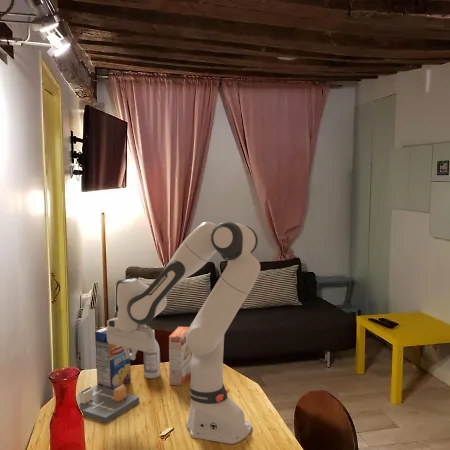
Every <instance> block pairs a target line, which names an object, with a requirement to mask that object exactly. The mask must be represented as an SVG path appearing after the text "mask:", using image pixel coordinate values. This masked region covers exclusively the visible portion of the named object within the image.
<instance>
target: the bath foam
mask: <svg viewBox="0 0 450 450" xmlns="http://www.w3.org/2000/svg"><path fill="white" fill-rule="evenodd" d="M152 330H153V336H154V343H155V348H154V349H153V350H152V351H150V352H144V351H142V352H143V375H144V378H146V379H156V378H158V377H160V376H161V351H160V345H159V343H158V341H157V340H156V337H155V334H156V332H155V329H152Z"/></svg>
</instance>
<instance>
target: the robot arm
mask: <svg viewBox="0 0 450 450" xmlns="http://www.w3.org/2000/svg"><path fill="white" fill-rule="evenodd" d="M258 243H259V239H258V235H257V233H256V232H255V230H254V229H252V228H251V227H250V226H247V225H244V224H242V223H238V222H232V221H225V222H221V223H219V224H218V225H217V224H216V223H214V222H211V221H204V222H202V223H201V224H200V225H198V226H197V227H196V228H194V230H192V231H191V232H190V233H189V234H188V235H187V236H186V238H185V239H184V240H183V241H182V242H181V244H179V247H177V249H176V251H175V252H174V253H173V255H172V256H171V259H170V260H169V262H168V263H167V264H166V266H165V267H164V269H163V270H162V271H161V273H160V274H159V275H158V276H157V277H156V278H155V279H154V280H153V282H151V284H150V285H148V284H146V283H144V282H142V281H141V280H140V279H139V278H136V277H132V278H127V279H124V280H122V281H120V282H119V283H118V285H117V289H116V290H117V291H116V306H117V308H118V309H117V310H118V311H117V316H116V317H113V318H110V319H108V320H106V325H107V326H106V327H108V328H107V341H108V343H109V344H112V345H117V346H121V347H124V351H125V353H126V358H127V359H130V361H131V360H132V361H134V360H136V355H137V352H138V351H140V352H143V351H144V352H150V351H152V350H153V349H154V348H155V343H154V336H153V330H154V329H152V327H150V325H147V324H150V322H151V321H152V320H153V319H154V318H156V316H158V315H159V314H160V313H162V312H163V311H164V310H165V309H166V307H167V305H168V298H167V295H168V294H169V293H170V292H171V290H172V289H173V288H174V287H176V286H177V285H178V284H179V283H181V282H182V281H184V280H185V279H187V278H189V277H191V276H192V275H194V274H195V273H196V272H198V271H199V270H200V269H202V268H203V267H204V266H205V265H206V264H207V263H208V262H209V261H210V260H211V258H212V257H213V256H214V255H215V254H216V253H218V254H220V256H221V258H222V259H223V260H224V261H227V265H226V266H225V268H224V270H223V272H222V273H221V275H220V277H219V278H218V280H217V281H216V283H215V284H214V287H213V288H212V289H211V292H210V293H209V295H208V296H207V297H206V300H205V301H204V302H203V304H202V306H201V308H200V309H199V310H198V313H197V314H196V316H195V318H194V319H193V321H192V322H191V323H190V326H188V327H189V329H188V331H187V336H186V343H187V346H188V348H189V350H190V351H191V373H190V385H189V399H190V405H189V407H190V408H189V412H188V413H189V414H188V419H187V421H186V427H187V429H188V431H189V434H190V437H191V438H194V439H200V440H207V441H211V442H218V443H223V444H230V445H231V444H232V445H233V444H237V443H239V442H242V440H244V439H246V437H248V436H249V434H250V433H251V431H252V423H251V422H249V421H247V420H246V418H245V414H244V410H243V409H242V408H241V407H240V406H239V405H238V404H237V403H236V402H235V401H234V400H232V398H231V397H229V396H228V393H230V390H231V389H230V388H231V387H230V388H227V389H226V387H225V385H224V379H223V378H224V377H223V376H224V375H223V374H224V370H223V369H224V350H225V349H224V348H225V347H224V345H225V344H224V343H225V334H226V332H227V330H228V329H229V328H230V325H232V324H231V323H232V322H233V320H234V319H235V317H236V315H237V313H238V311H239V310H240V308H241V307H242V305H243V304H244V302H245V301H246V299H247V297H248V296H249V294H250V292H252V289H253V287H254V285H255V284H256V282H257V279H258V277H259V274H260V271H261V264H260V261H259V260H258V259H257V258H256V257H255V256H254V255H253V254H252V253H254V252H255V250H256V249H257V248H258ZM129 349H130V350H129Z"/></svg>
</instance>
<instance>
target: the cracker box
mask: <svg viewBox="0 0 450 450" xmlns="http://www.w3.org/2000/svg"><path fill="white" fill-rule="evenodd" d="M189 327H190V326H177V328H175V330H174V331H172V333H171V334H170V335H169V336H168V360H169V361H168V362H169V363H168V364H169V365H168V367H169V369H168V370H169V371H168V372H169V374H168V377H169V385H170V386H179V387H182V386H183V385H184V384H185V382H186V381H187V379H188V378H189V376H191V357H192V352H191V351H190V350H189V348H188V346H187V343H186V336H187V331H188V329H189Z"/></svg>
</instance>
